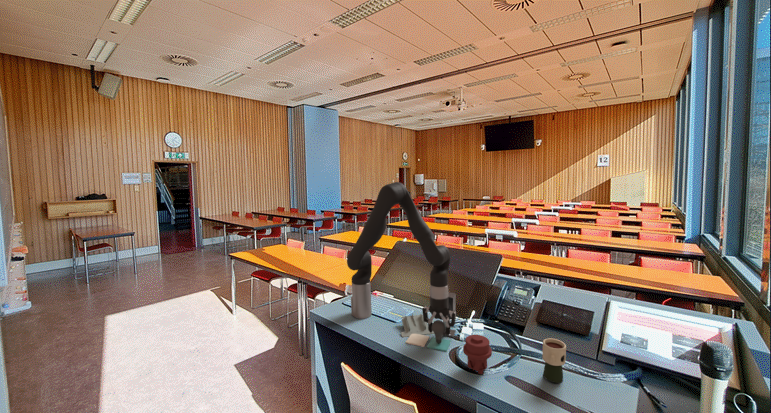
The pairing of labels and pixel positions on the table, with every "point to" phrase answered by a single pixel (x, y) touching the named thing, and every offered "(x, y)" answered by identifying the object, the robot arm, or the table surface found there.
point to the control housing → (452, 308)
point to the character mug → (554, 359)
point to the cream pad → (417, 339)
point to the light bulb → (438, 330)
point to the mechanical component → (477, 352)
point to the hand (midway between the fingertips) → (439, 333)
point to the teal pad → (442, 346)
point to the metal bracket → (415, 326)
